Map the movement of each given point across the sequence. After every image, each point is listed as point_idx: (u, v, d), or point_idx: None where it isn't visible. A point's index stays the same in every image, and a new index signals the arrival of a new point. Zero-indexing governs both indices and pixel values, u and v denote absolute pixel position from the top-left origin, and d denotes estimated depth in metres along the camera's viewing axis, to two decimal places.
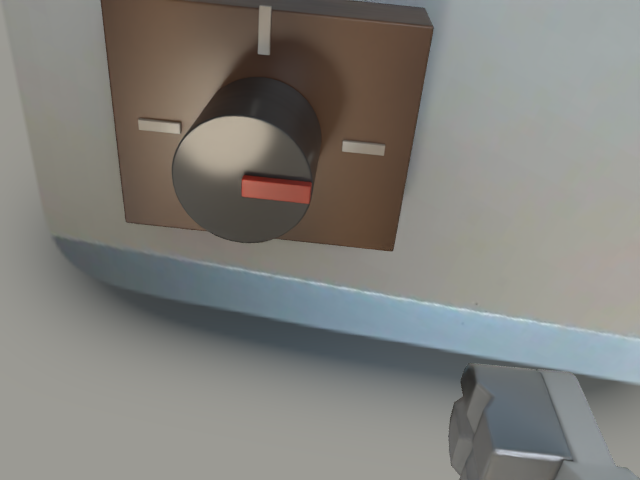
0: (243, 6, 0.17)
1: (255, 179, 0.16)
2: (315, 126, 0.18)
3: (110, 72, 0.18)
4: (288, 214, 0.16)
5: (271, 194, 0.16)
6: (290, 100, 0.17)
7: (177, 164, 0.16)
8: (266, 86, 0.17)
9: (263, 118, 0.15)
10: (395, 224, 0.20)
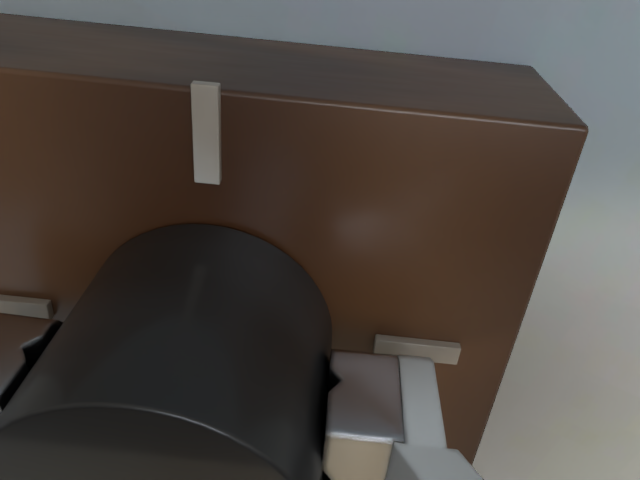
0: (157, 82, 0.08)
1: None
2: (320, 330, 0.08)
3: None
4: None
5: None
6: (264, 291, 0.08)
7: None
8: (211, 257, 0.08)
9: (181, 408, 0.06)
10: None
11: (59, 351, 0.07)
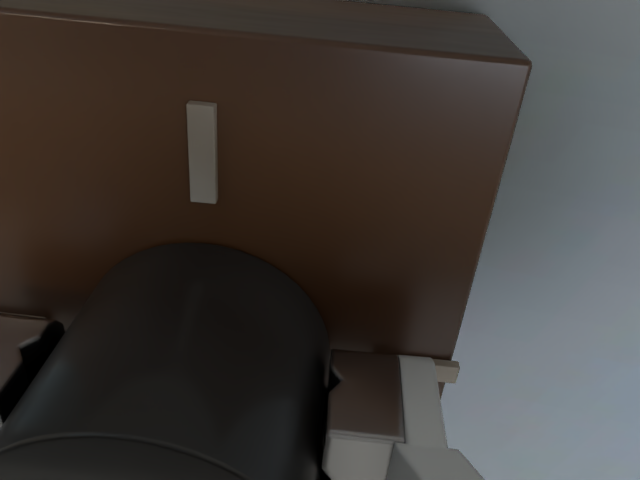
0: (457, 333, 0.09)
1: None
2: (322, 363, 0.08)
3: (334, 47, 0.07)
4: None
5: None
6: (275, 322, 0.08)
7: None
8: (224, 282, 0.08)
9: (198, 446, 0.06)
10: None
11: (68, 370, 0.06)
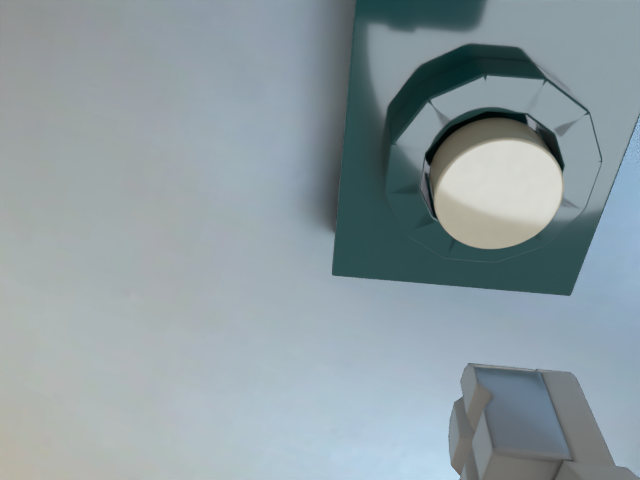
0: None
1: None
2: None
3: None
4: None
5: None
6: None
7: None
8: None
9: None
10: None
11: None
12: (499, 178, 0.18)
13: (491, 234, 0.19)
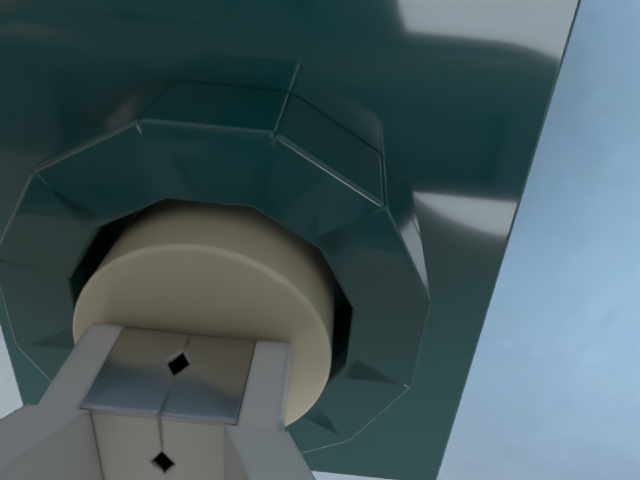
0: None
1: None
2: None
3: None
4: None
5: None
6: None
7: None
8: None
9: None
10: None
11: None
12: (191, 322, 0.08)
13: None
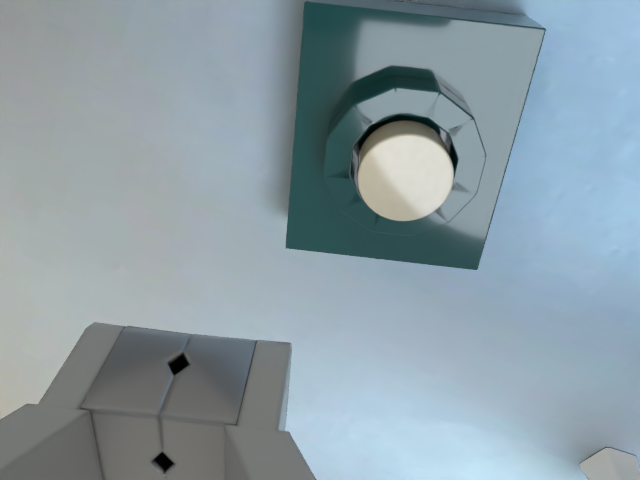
0: None
1: None
2: None
3: None
4: None
5: None
6: None
7: None
8: None
9: None
10: None
11: None
12: (405, 164, 0.23)
13: (402, 208, 0.24)
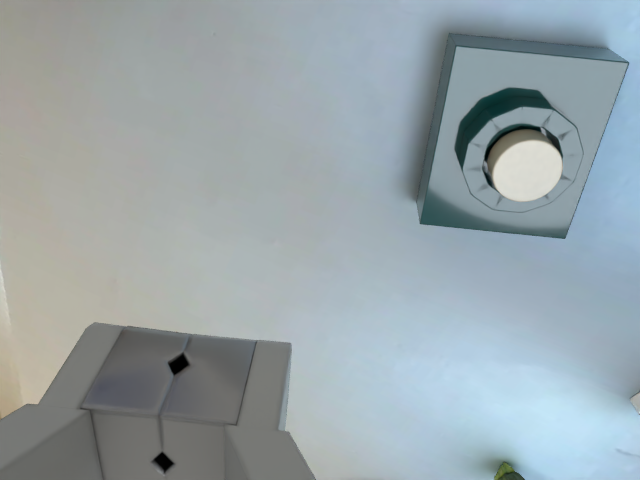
0: None
1: None
2: None
3: None
4: None
5: None
6: None
7: None
8: None
9: None
10: None
11: None
12: (528, 161, 0.33)
13: (522, 193, 0.34)
